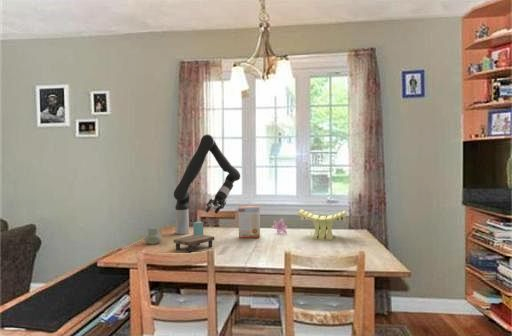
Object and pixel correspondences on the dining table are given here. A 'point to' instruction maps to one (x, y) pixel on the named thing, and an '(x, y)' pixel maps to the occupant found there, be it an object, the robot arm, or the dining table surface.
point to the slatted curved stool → (322, 223)
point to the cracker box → (249, 221)
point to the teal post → (198, 228)
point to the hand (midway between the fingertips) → (211, 212)
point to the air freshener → (153, 236)
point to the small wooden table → (193, 241)
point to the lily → (280, 226)
